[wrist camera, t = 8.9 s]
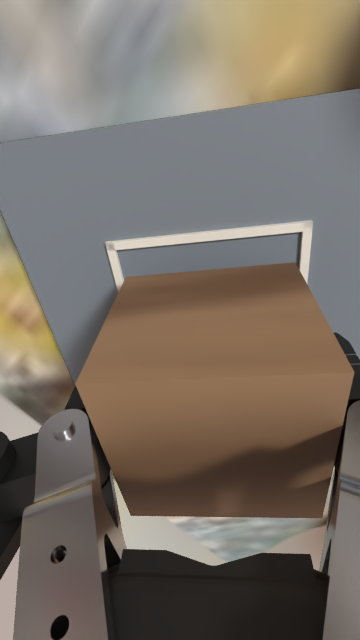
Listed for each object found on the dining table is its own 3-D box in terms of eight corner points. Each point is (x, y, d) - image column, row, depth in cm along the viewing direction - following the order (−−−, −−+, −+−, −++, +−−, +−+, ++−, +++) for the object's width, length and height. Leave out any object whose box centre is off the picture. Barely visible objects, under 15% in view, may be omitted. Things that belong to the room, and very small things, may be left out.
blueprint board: (-9, 143, 11) (-29, 147, 10) (440, 75, 9) (467, 72, 8) (99, 417, 19) (93, 434, 18) (357, 409, 17) (366, 428, 16)
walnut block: (125, 276, 11) (75, 384, 7) (295, 261, 10) (354, 372, 6) (154, 392, 14) (130, 515, 10) (286, 387, 13) (322, 518, 9)
